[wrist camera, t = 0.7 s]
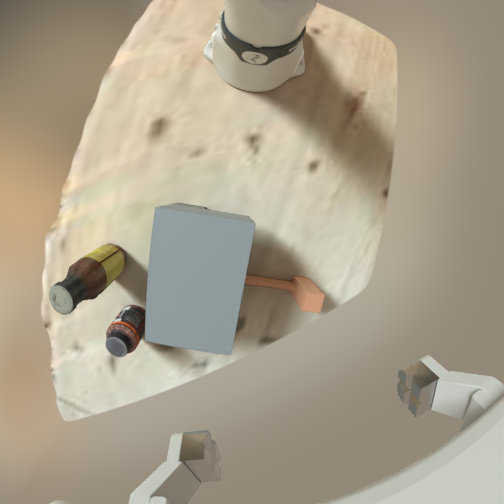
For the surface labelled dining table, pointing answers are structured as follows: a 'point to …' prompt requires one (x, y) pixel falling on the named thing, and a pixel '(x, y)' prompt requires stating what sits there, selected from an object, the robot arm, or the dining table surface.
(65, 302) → the sauce bottle
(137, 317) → the supplement bottle
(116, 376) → the dining table surface
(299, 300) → the square headed mallet
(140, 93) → the dining table surface
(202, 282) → the grey block
